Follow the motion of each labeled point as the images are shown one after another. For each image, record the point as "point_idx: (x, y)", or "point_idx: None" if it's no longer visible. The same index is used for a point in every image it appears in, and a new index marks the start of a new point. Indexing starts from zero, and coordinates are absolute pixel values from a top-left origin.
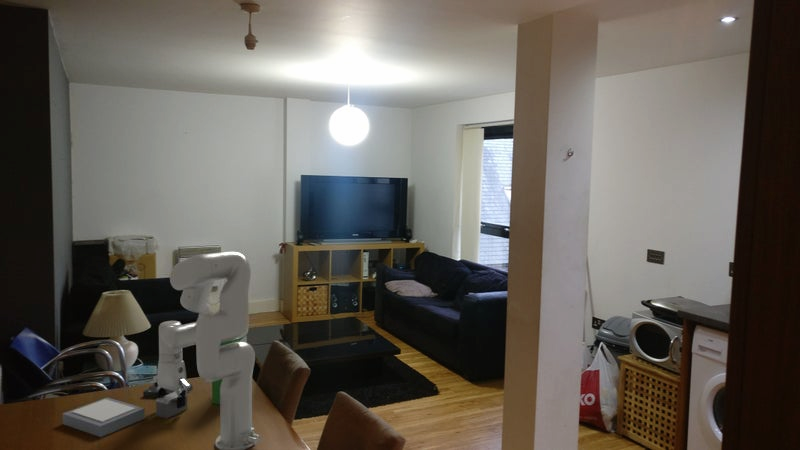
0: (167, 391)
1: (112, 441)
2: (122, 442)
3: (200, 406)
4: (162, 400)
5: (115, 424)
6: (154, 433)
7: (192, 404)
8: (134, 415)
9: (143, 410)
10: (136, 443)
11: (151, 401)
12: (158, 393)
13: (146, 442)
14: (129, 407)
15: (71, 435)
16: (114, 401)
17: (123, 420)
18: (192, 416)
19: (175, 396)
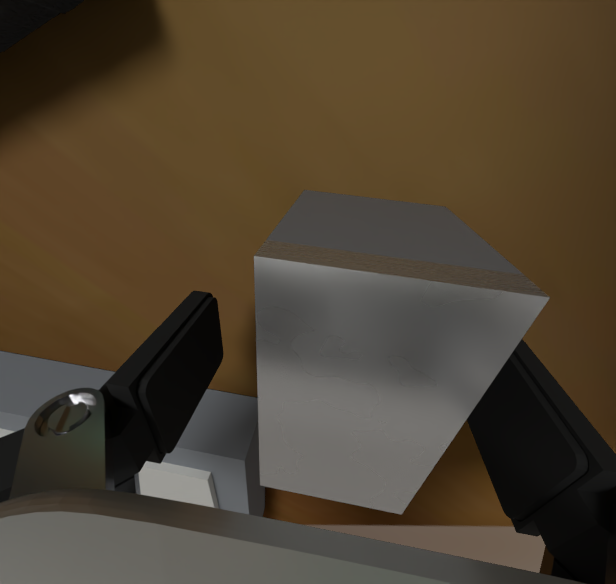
0: None
1: (325, 518)
2: (363, 522)
3: (584, 62)
4: (339, 496)
5: (256, 512)
6: (437, 484)
7: (429, 55)
8: (253, 475)
9: (248, 452)
10: (419, 525)
11: (21, 190)
12: (171, 445)
13: (453, 522)
14: (170, 476)
15: None
16: (1, 421)
17: (255, 500)
18: (578, 313)
19: (407, 425)
